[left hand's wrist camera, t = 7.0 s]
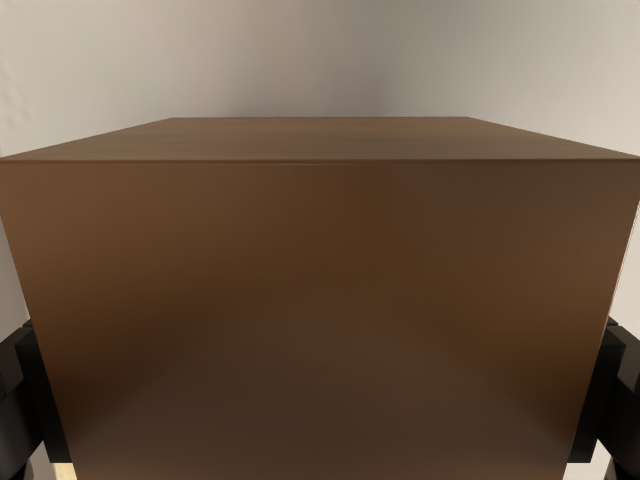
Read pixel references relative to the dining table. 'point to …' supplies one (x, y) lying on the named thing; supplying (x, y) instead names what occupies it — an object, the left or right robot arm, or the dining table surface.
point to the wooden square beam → (319, 294)
